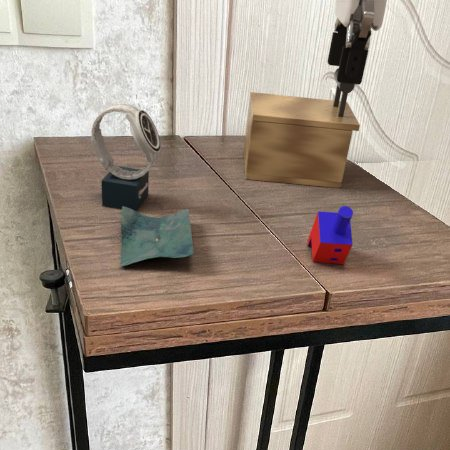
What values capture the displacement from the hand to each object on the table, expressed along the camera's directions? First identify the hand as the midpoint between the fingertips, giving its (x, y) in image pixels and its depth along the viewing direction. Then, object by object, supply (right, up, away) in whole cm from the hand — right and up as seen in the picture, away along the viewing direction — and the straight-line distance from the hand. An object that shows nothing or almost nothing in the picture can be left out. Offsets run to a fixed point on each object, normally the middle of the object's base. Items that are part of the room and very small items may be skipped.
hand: (343, 73), depth 85 cm
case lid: (-5, -4, +3) cm, 7 cm away
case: (-6, -10, +8) cm, 14 cm away
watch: (-28, -19, -6) cm, 35 cm away
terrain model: (-24, -27, -15) cm, 39 cm away
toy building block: (-5, -28, -13) cm, 31 cm away
